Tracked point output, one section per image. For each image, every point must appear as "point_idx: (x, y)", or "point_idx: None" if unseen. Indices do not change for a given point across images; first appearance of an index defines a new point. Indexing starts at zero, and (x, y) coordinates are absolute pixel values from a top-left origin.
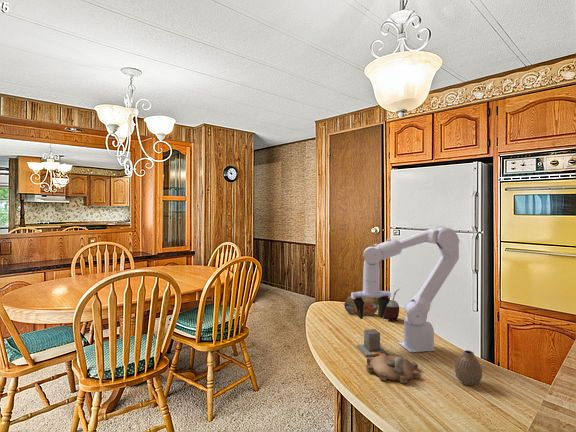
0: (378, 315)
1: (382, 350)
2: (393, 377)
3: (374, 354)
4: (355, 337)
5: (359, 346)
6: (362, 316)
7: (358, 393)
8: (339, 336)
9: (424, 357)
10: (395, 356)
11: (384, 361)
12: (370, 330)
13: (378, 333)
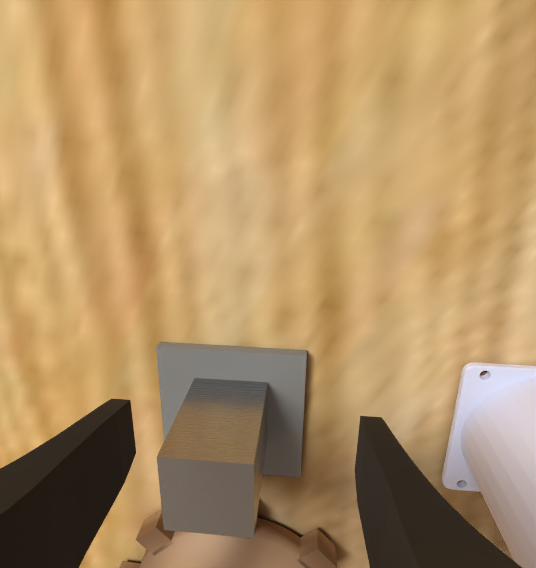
0: (360, 425)
1: (283, 444)
2: None
3: None
4: (206, 194)
5: (167, 369)
6: (117, 483)
7: None
8: (87, 150)
9: (480, 532)
10: (294, 556)
11: None
12: (201, 480)
13: (239, 536)
